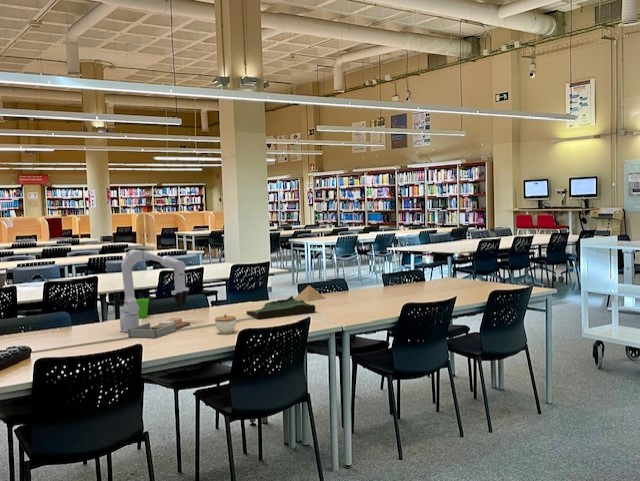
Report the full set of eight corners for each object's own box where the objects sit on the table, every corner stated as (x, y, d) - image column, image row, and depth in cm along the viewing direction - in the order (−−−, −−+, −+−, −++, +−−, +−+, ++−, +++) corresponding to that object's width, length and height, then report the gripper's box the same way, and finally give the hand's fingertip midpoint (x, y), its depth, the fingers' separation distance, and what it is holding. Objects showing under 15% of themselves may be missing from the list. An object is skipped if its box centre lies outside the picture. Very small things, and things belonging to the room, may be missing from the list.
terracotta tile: (166, 324, 332) (166, 320, 332) (172, 322, 337) (172, 318, 337) (175, 324, 330) (175, 320, 329) (182, 322, 335) (181, 318, 335)
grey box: (128, 337, 310) (128, 329, 310) (148, 330, 326) (148, 322, 326) (156, 338, 304) (155, 330, 304) (175, 331, 320) (175, 323, 320)
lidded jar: (237, 329, 317) (236, 312, 316) (235, 334, 306) (234, 315, 305) (217, 330, 316) (216, 313, 316) (214, 335, 306) (213, 316, 305)
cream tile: (159, 327, 325) (158, 322, 325) (165, 325, 331) (165, 320, 331) (168, 327, 323) (168, 322, 323) (174, 325, 329) (174, 320, 328)
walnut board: (151, 330, 325) (151, 327, 325) (168, 324, 340) (168, 321, 340) (173, 331, 320) (173, 328, 320) (189, 325, 335) (189, 322, 335)
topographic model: (301, 308, 377) (301, 292, 377) (315, 313, 358) (314, 296, 357) (246, 314, 362) (245, 298, 362) (258, 320, 343) (257, 303, 342)
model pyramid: (310, 296, 424) (310, 282, 423) (326, 299, 410) (326, 284, 410) (292, 300, 413) (291, 285, 413) (307, 302, 400) (307, 287, 399)
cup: (131, 319, 362) (130, 301, 362) (139, 316, 371) (138, 298, 371) (145, 319, 360) (144, 301, 360) (152, 316, 369) (151, 298, 368)
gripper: (178, 283, 331) (179, 307, 332) (193, 280, 344) (194, 303, 345) (167, 283, 333) (169, 307, 334) (182, 279, 347) (183, 303, 348)
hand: (181, 305), depth 340 cm, fingers open, 3 cm apart
